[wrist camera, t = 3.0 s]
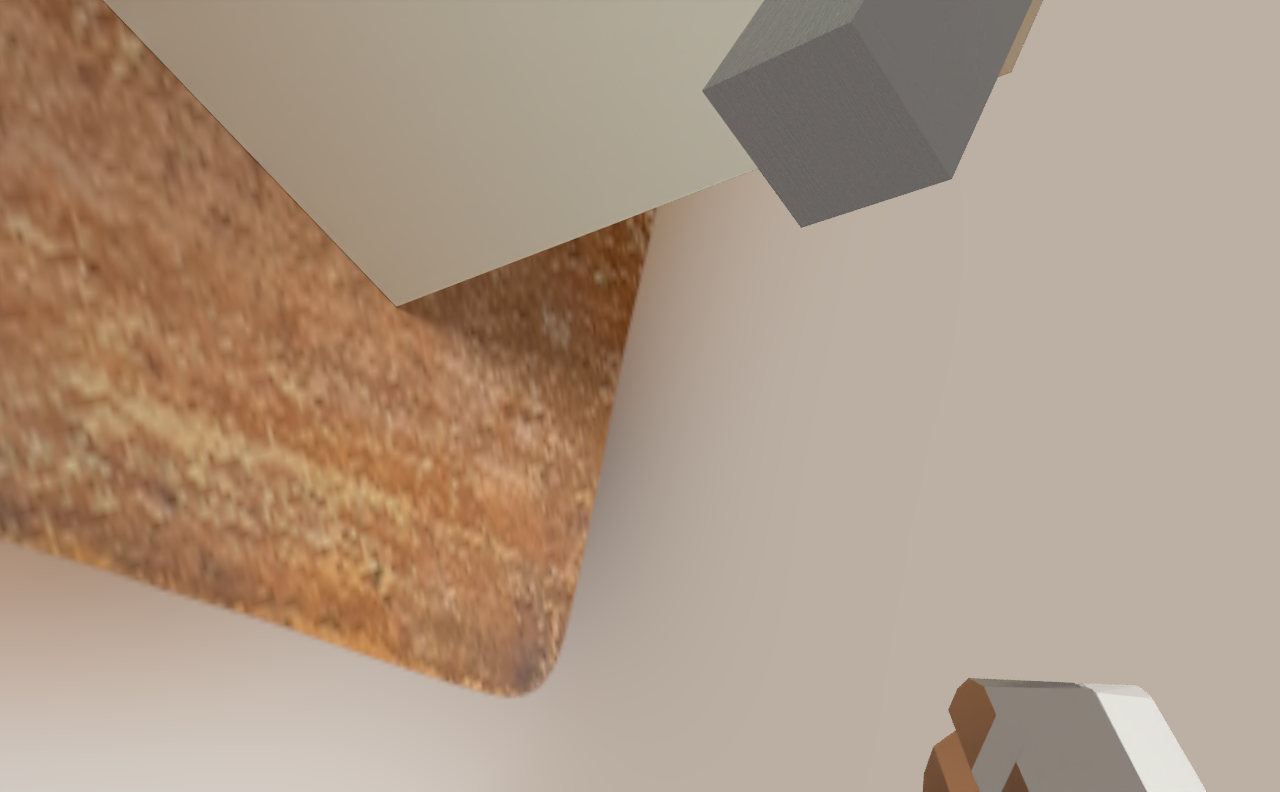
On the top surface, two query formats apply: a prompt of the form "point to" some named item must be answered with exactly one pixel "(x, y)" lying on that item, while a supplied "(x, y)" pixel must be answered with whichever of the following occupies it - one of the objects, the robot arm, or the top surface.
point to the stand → (464, 115)
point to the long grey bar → (861, 94)
